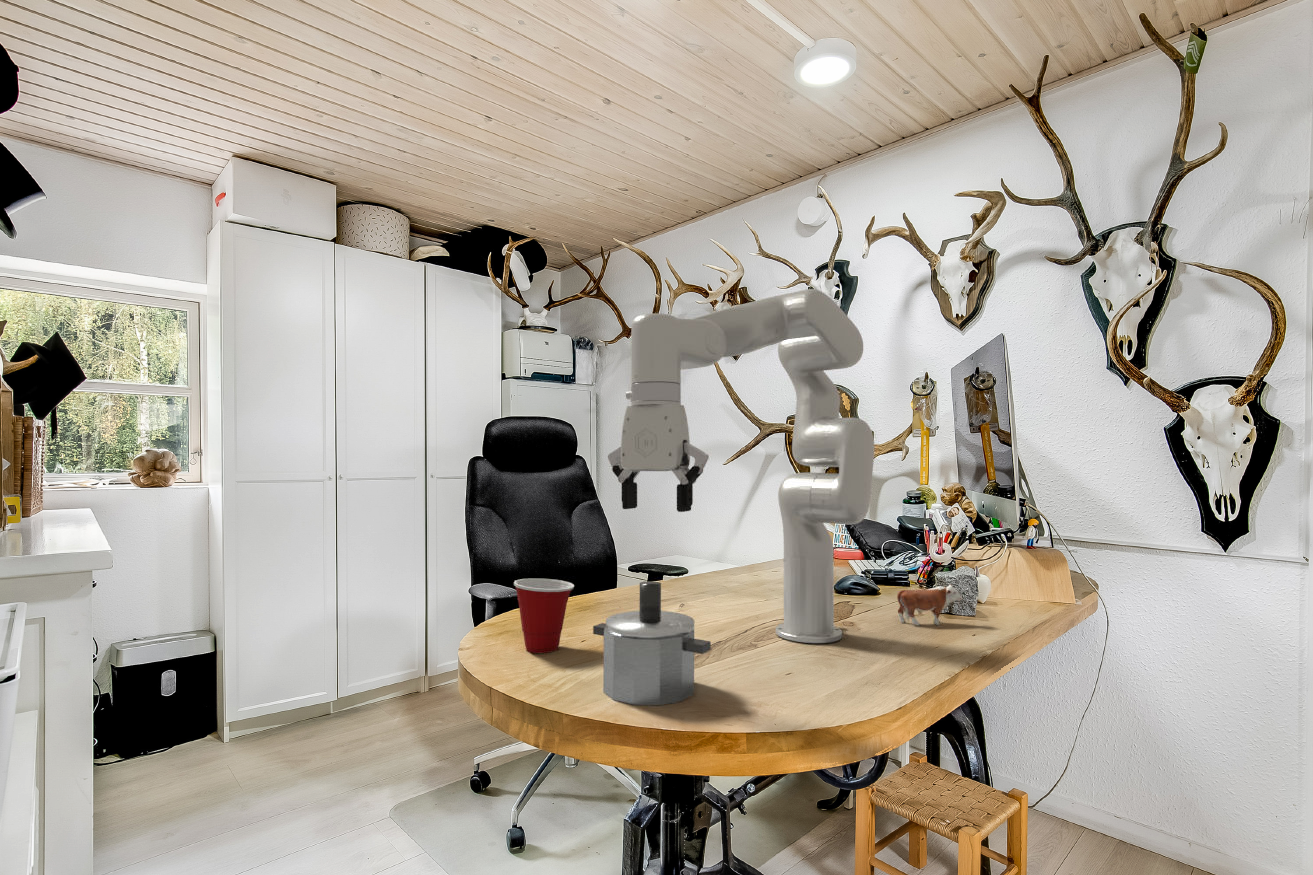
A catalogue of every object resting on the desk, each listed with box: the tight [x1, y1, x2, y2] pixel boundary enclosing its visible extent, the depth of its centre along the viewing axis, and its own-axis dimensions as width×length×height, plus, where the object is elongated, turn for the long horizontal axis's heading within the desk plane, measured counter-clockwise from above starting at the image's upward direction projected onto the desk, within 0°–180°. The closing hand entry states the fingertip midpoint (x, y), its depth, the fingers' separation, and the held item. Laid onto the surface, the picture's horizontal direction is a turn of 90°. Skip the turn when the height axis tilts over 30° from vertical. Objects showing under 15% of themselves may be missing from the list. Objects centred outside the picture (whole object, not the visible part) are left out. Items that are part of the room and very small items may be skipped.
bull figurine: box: [897, 584, 963, 627], centre depth 137 cm, size 4×13×8 cm, turn 91°
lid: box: [605, 580, 695, 639], centre depth 97 cm, size 13×13×8 cm
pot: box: [592, 622, 712, 706], centre depth 97 cm, size 13×19×9 cm
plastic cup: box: [513, 578, 575, 654], centre depth 117 cm, size 11×11×12 cm
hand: (656, 509), depth 99 cm, fingers open, 9 cm apart
